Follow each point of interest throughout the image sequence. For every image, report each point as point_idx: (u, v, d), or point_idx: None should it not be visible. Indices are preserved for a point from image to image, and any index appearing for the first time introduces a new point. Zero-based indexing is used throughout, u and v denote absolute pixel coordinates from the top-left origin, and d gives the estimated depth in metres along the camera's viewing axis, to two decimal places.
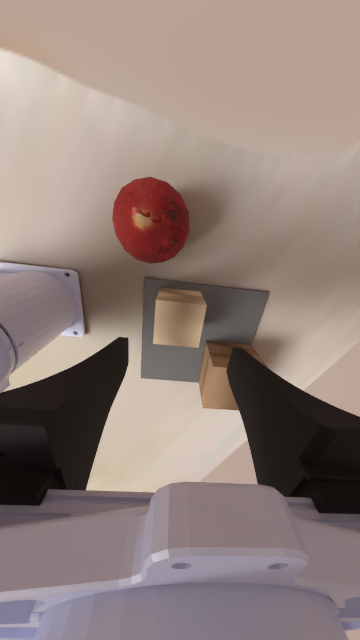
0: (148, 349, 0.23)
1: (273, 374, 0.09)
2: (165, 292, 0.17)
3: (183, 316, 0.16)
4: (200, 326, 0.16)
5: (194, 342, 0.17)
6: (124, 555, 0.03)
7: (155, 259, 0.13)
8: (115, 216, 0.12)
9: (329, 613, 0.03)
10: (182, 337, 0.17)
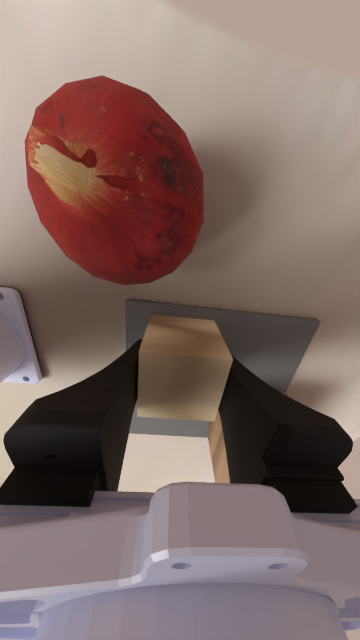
0: None
1: (248, 372, 0.09)
2: (158, 327, 0.10)
3: (190, 377, 0.09)
4: (219, 391, 0.09)
5: (207, 414, 0.10)
6: (124, 556, 0.03)
7: (133, 279, 0.06)
8: None
9: (329, 613, 0.03)
10: (187, 407, 0.10)
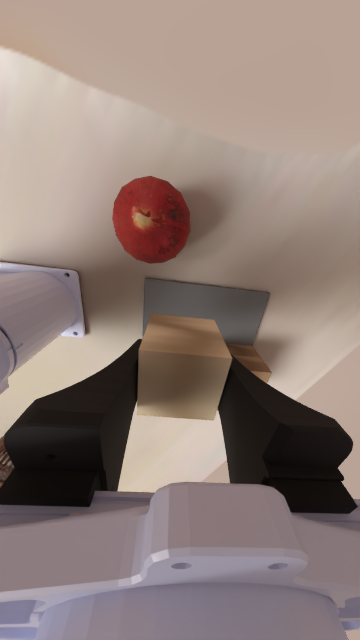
0: None
1: (248, 372, 0.09)
2: (158, 326, 0.11)
3: (190, 376, 0.09)
4: (218, 390, 0.09)
5: (207, 413, 0.10)
6: (124, 556, 0.03)
7: (155, 259, 0.13)
8: (115, 216, 0.12)
9: (329, 613, 0.03)
10: (187, 406, 0.10)
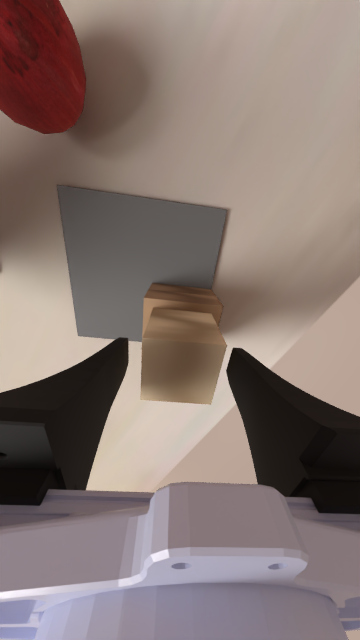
0: (80, 295, 0.18)
1: (273, 374, 0.09)
2: (159, 318, 0.11)
3: (189, 362, 0.10)
4: (215, 375, 0.10)
5: (205, 397, 0.11)
6: (124, 555, 0.03)
7: (17, 94, 0.08)
8: None
9: (329, 613, 0.03)
10: (186, 390, 0.11)
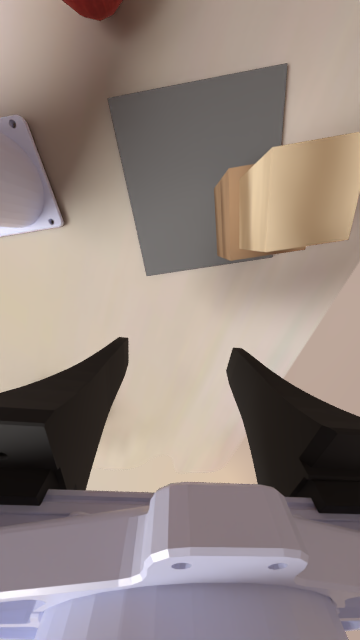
0: (144, 225, 0.17)
1: (273, 374, 0.09)
2: None
3: (325, 173, 0.08)
4: (356, 188, 0.09)
5: (342, 229, 0.09)
6: (124, 556, 0.03)
7: None
8: None
9: (329, 613, 0.03)
10: (319, 224, 0.09)
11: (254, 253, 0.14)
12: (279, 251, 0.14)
